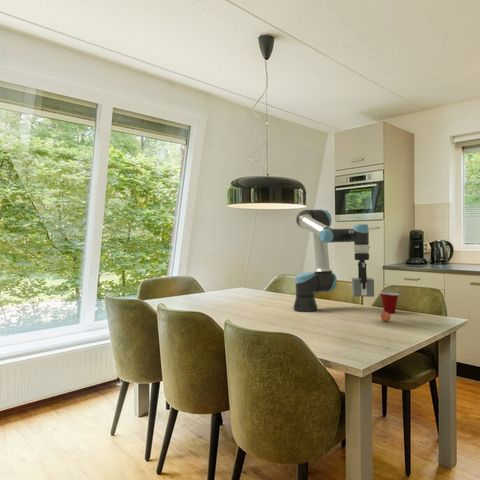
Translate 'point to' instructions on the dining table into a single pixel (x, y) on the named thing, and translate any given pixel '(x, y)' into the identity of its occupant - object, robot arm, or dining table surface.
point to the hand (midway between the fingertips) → (362, 293)
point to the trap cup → (357, 287)
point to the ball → (385, 316)
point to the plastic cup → (389, 301)
